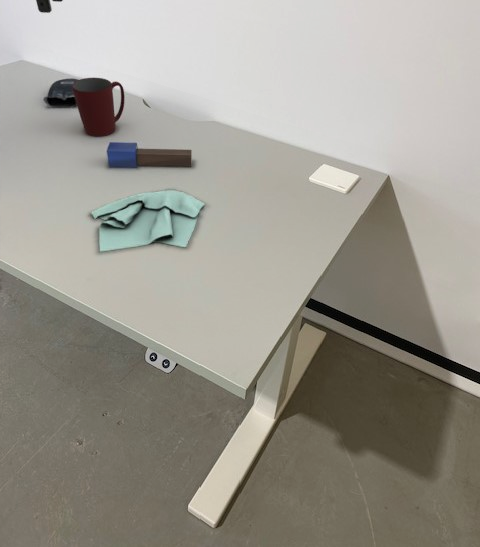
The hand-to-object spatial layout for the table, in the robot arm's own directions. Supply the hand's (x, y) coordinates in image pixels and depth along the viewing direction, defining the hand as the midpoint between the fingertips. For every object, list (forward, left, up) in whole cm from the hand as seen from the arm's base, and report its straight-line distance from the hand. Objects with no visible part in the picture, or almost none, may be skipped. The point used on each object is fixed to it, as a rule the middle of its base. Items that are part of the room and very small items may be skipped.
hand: (51, 6), depth 80 cm
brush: (+17, -9, -28) cm, 34 cm away
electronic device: (-10, +27, -28) cm, 40 cm away
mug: (+4, +8, -28) cm, 30 cm away
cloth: (+18, -30, -28) cm, 45 cm away
